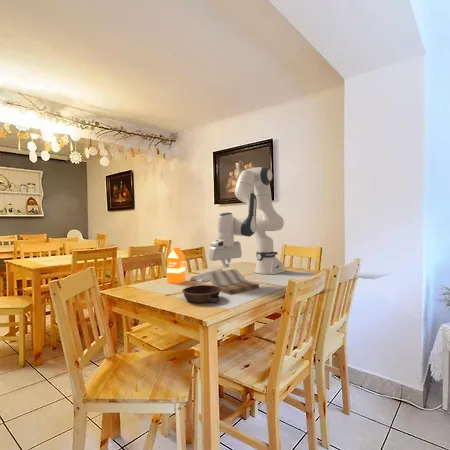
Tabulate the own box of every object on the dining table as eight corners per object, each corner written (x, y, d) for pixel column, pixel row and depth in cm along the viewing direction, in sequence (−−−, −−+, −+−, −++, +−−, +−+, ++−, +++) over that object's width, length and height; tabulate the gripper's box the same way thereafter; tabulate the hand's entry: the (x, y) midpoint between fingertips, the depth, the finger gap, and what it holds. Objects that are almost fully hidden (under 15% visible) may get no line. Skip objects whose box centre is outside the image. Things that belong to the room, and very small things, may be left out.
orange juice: (167, 282, 172) (166, 248, 172) (173, 279, 181) (173, 247, 180) (179, 283, 170) (178, 248, 170) (185, 280, 179) (185, 247, 178)
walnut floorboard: (247, 284, 164) (247, 281, 164) (258, 287, 157) (258, 283, 156) (218, 290, 152) (218, 286, 152) (229, 294, 144) (229, 289, 144)
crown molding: (204, 283, 172) (204, 277, 172) (188, 281, 178) (188, 275, 178) (230, 274, 199) (230, 268, 199) (215, 272, 205) (215, 267, 205)
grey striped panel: (235, 271, 172) (236, 269, 171) (246, 283, 165) (247, 281, 164) (206, 276, 160) (207, 273, 159) (216, 289, 153) (218, 286, 152)
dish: (199, 292, 150) (199, 282, 150) (232, 299, 136) (232, 289, 135) (171, 299, 137) (171, 289, 137) (204, 309, 123) (204, 297, 122)
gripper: (236, 240, 171) (237, 264, 171) (207, 243, 159) (207, 268, 159) (243, 241, 166) (244, 265, 166) (214, 243, 154) (214, 270, 154)
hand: (226, 267), depth 162 cm, fingers closed
